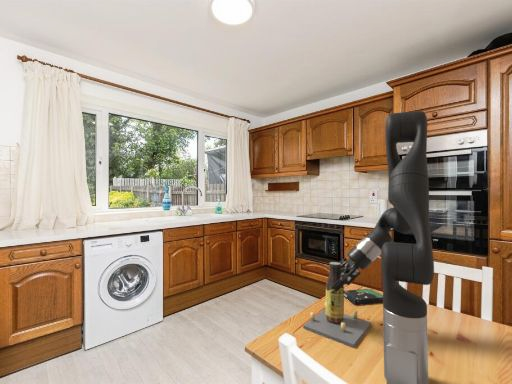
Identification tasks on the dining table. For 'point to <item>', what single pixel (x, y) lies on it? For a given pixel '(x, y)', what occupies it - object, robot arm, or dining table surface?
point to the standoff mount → (339, 328)
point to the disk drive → (363, 296)
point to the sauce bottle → (334, 295)
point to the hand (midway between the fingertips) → (331, 284)
